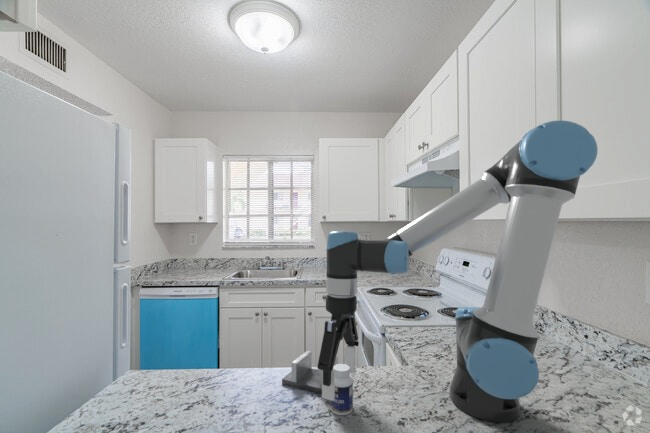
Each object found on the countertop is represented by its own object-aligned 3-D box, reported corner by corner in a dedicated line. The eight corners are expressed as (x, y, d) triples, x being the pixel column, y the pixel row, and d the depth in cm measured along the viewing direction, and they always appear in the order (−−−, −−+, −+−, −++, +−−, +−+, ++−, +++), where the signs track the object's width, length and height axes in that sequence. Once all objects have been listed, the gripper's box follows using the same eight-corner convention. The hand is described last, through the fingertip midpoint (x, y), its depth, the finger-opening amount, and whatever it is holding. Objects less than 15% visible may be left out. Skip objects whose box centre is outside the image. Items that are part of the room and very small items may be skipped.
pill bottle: (327, 413, 68) (327, 370, 68) (334, 400, 73) (334, 360, 73) (349, 418, 66) (349, 374, 66) (355, 405, 71) (355, 364, 71)
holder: (347, 381, 82) (347, 358, 82) (335, 398, 74) (335, 372, 74) (298, 370, 88) (298, 348, 89) (282, 384, 80) (282, 360, 81)
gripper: (345, 284, 84) (343, 360, 83) (302, 303, 61) (300, 407, 60) (370, 287, 80) (369, 365, 79) (335, 308, 58) (333, 418, 57)
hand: (339, 384), depth 70 cm, fingers open, 13 cm apart
